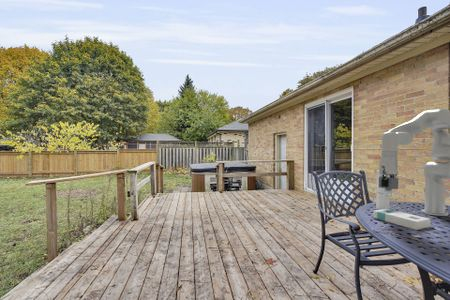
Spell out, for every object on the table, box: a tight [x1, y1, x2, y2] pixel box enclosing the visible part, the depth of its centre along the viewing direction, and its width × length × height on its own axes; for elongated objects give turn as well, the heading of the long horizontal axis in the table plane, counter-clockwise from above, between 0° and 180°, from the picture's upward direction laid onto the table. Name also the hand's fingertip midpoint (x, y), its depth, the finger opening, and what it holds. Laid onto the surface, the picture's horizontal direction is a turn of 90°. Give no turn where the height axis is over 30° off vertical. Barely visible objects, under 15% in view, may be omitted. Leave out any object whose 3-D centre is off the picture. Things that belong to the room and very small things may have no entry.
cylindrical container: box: [375, 169, 390, 210], centre depth 160 cm, size 7×7×25 cm
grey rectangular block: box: [379, 177, 399, 198], centre depth 139 cm, size 6×7×10 cm
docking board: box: [372, 208, 431, 231], centre depth 133 cm, size 22×12×4 cm, turn 25°
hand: (388, 186), depth 139 cm, fingers closed on grey rectangular block, 6 cm apart
